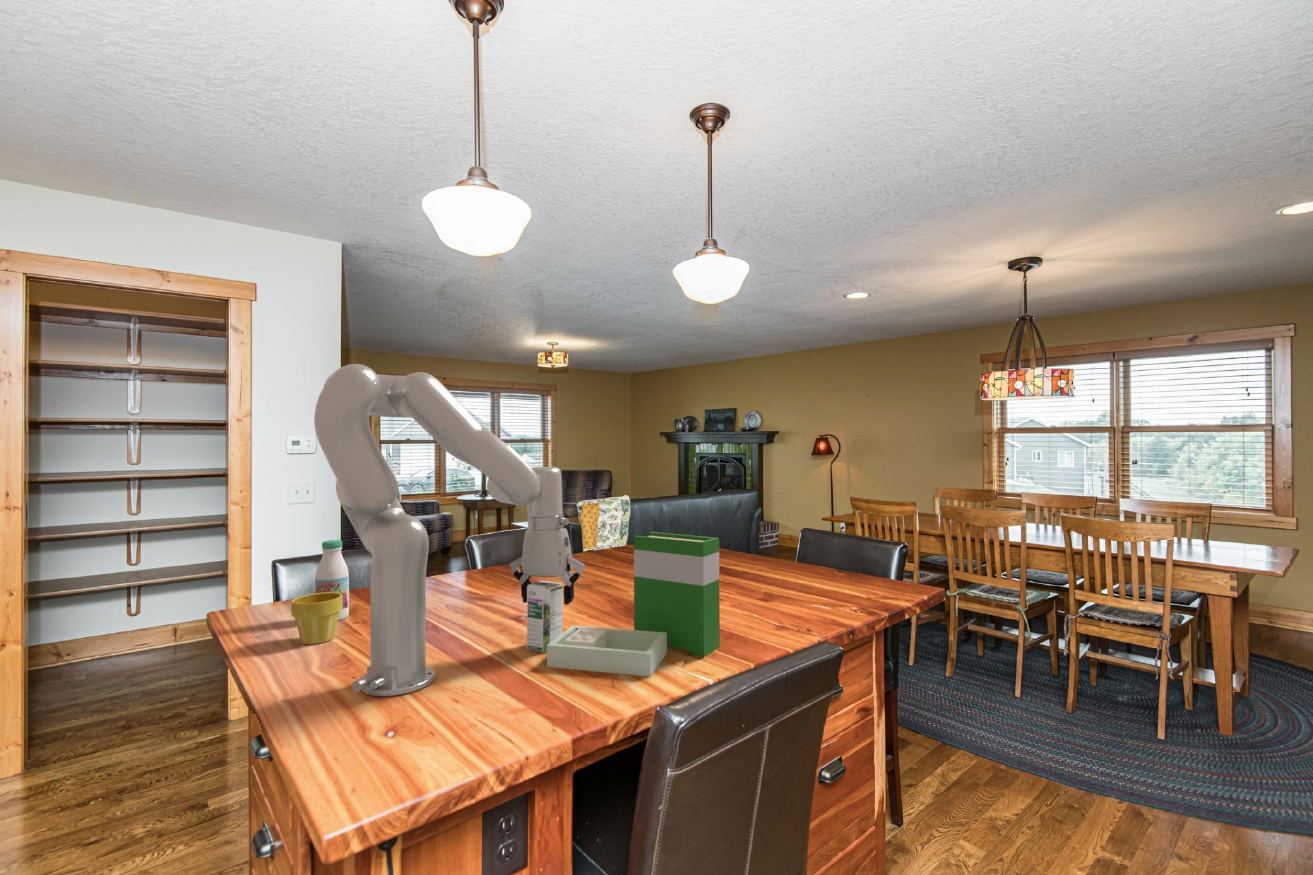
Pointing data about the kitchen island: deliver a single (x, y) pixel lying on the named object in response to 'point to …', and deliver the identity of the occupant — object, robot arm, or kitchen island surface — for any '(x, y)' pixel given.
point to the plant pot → (317, 616)
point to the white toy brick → (587, 638)
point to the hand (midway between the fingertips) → (547, 602)
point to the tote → (611, 652)
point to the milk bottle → (333, 574)
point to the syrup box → (544, 614)
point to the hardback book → (678, 590)
